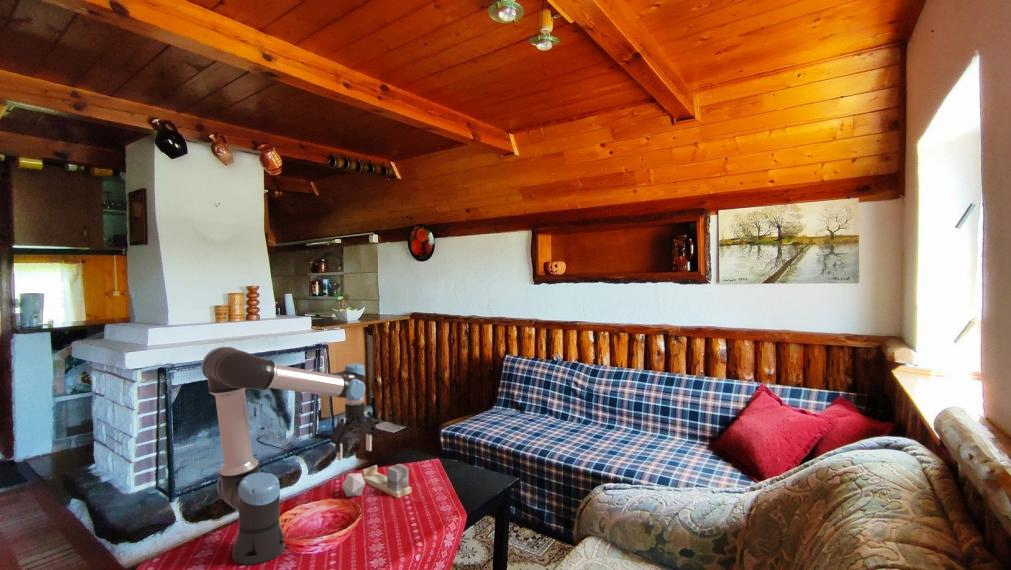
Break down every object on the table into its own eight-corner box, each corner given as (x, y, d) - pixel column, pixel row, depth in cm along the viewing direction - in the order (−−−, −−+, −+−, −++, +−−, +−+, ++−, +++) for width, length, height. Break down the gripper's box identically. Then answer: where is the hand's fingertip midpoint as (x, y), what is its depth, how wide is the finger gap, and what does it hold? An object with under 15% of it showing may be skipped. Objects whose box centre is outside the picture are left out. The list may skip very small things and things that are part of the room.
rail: (398, 498, 196) (398, 473, 196) (362, 481, 212) (362, 458, 211) (411, 492, 202) (411, 468, 202) (375, 476, 217) (376, 453, 217)
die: (355, 503, 193) (370, 478, 197) (335, 491, 193) (350, 467, 197) (357, 501, 201) (371, 478, 205) (338, 490, 201) (352, 467, 205)
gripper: (331, 411, 186) (331, 466, 187) (385, 398, 205) (385, 448, 206) (321, 407, 191) (321, 461, 191) (375, 395, 210) (374, 444, 211)
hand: (354, 454), depth 199 cm, fingers open, 13 cm apart
